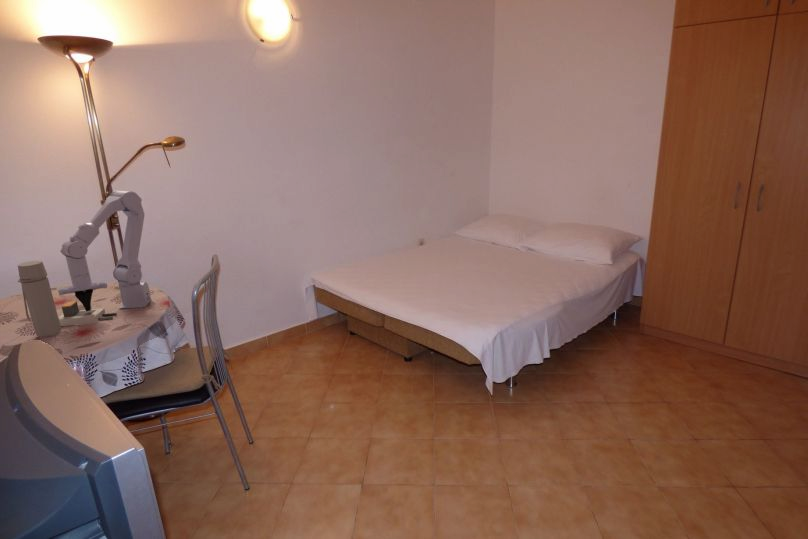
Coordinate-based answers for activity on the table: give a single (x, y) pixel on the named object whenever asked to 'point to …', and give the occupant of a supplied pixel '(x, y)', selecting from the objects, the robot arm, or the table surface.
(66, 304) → the knob
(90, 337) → the table surface
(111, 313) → the cord
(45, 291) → the water bottle
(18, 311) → the table surface
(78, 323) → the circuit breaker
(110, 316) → the cord
